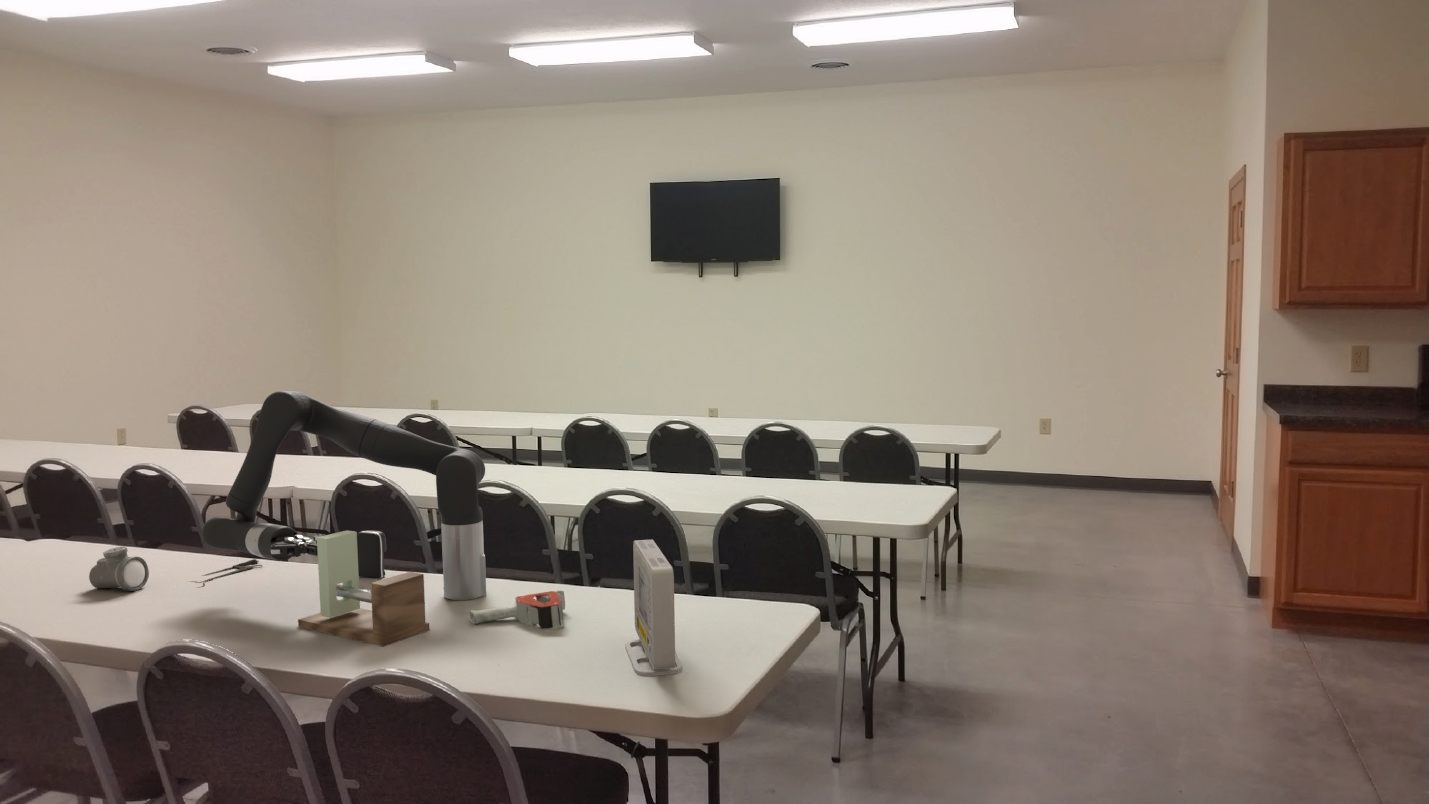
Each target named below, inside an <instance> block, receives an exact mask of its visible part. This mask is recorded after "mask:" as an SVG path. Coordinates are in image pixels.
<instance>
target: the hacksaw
mask: <svg viewBox="0 0 1429 804" xmlns="http://www.w3.org/2000/svg"><path fill="white" fill-rule="evenodd" d="M259 562H260V561H259V560H258V559H254V558H253V559H250V560H248V561H244V562H241V563H238V564H235V565H232V566H231V567H227V568H223V569H221V570H216V571H212V572H210V573H206V574H202V575H201V577H205V576H210V575H214V574H219V573H222V572H226V573H224V574H221V575H218V576H214V577H211V578H208V579H205V580H203V581H194V580H193V581H191V580H190V581H188V582H190V583H197V584H201V583H202V585H201V586H198V587H197V588H199V589H200V588H204V587H205V586H206V583H208V582H212V581H214V580H216V579H218V578H219V579H220V578H223V577H227V576H231V575H235V574H238V573H241V572H245V571H248V570H253V569H255V568H256V567H257V569H259V568H262V567H263V565H262V564H259ZM233 569H234V570H233ZM235 569H237V570H235ZM230 570H233V571H230ZM227 571H230V572H227Z"/></svg>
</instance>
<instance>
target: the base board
mask: <svg viewBox="0 0 1429 804" xmlns="http://www.w3.org/2000/svg"><path fill="white" fill-rule="evenodd" d="M370 591H371V598H372V603H371V609H366V608H363V607H362V608H361V607H360V609H357V610H354V611H350V612H347V613H344V614H341V615H338V616H334V617H331V618H329V617H324V616H321V612H318V613H314V614H312V615H309V616H308V615H307V616H305V617H302V618H301V617H300V618H298V619H297V622H298V625H297V626H298V627H300V628H303V629H308V630H311V629H312V630H311V631H315V632H321V633H326V634H329V635H333V636H337V637H342V638H345V639H349V640H353V641H358V642H362V643H365V644H369V645H370V644H371V645H374V646H378V647H384V648H385V647H386V646H389V645H392V644H394V643H397V642H400V641H403V640H405V639H409V638H411V637H415V636H417V635H420V634H422V633H426V632H428V631H430V622H426V605H425V604H426V602H425V599H426V598H425V577H424V573H421V572H420V573H419V572H413V571H407V572H405V573H400V574H396V575H394V576H389V577H386V578H384V579H380V580H377V581H373V582H371V583H370Z"/></svg>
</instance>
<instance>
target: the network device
mask: <svg viewBox="0 0 1429 804" xmlns="http://www.w3.org/2000/svg"><path fill="white" fill-rule="evenodd" d="M632 544H633V545H632V546H633V548H632V550H633V551H632V552H633V553H632V554H633V558H632V559H633V596H634V598H633V600H634V607H633V609H634V627H635V632H636V634H637V636H638V639H633V640H629V641H627V642H626V643H625V645H624V646H625V647H624V648H625V651H626V653H627V657H628V659H629V661H630V663H631V666H632V669H633V671H634V673H635V674H637V675H640V676H645V677H653V676H663V675H662V674H665V675H672V674H678V673H679V672H681V671H682V670H683V664H682V662H681V660H680V658H679V657H678V654H677V653H676V631H675V630H676V629H675V628H676V625H675V617H676V615H675V576H674V575H675V574H674V569H673V566H672V565H671V564H670V562H669V561H668V559H667V557H666V556H665V555H664V554H663V552H662V550H661V549H660V548H659V546H658V545H657V543H656V542H655V541H654V539H641V540H640V539H639V540H638V539H637V540H633V542H632ZM637 645H640V646H642V647H643V649H644V652H634V650H633V648H632V646H637ZM648 661H649V663H650V665H651V667H652V669H649V670H648V669H645V670H644V669H641V668H640V665H639V663H640V662H648Z"/></svg>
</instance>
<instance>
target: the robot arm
mask: <svg viewBox="0 0 1429 804" xmlns="http://www.w3.org/2000/svg"><path fill="white" fill-rule="evenodd" d="M291 431H299V432H302V433H308V434H311V435H314V436H318V437H322V438H325V439H327V440H330V441H332V443H335V444H336V445H338V446H339V447H340V448H342V449H344V450H345V451H347V452H349V453H350V454H351V455H354V456H357V457H359V458H362V459H364V460H367V461H368V460H369V461H372V462H373V463H376V464H380V465H383V466H384V465H385V466H388V467H390V466H391V467H395V468H404V469H412V470H417V471H418V470H419V471H421V472H426V473H428V474H430V475H431V474H432V475H433V476H435V486H436V498H437V500H436V501H437V502H436V503H437V508H438V513H439V514H440V521H441V522H440V523H441V525H440V526H441V547H442V548H441V549H442V569H443V570H442V573H443V574H442V576H443V579H442V581H443V597H444V598H445V599H448V600H453V601H465V600H466V601H467V600H472V599H474V600H475V599H478V598H481V597H486V596H487V577H486V574H487V571H486V555H485V551H484V550H485V549H484V546H485V545H484V524H483V523H484V522H483V519H484V518H483V509H482V507H481V506H480V505H479V504H480V503H479V499H478V498H479V497H478V495H479V494H478V485H479V484H480V483H481V482H482V481H483V479H484V477H485V475H486V466H485V462H484V461H483V459H482V458H481V457H480V456H479V455H478V454H477V453H476V452H474V451H472V450H470V449H466V448H461V447H456V446H452V445H448V444H444V443H440V442H437V441H433V440H430V439H428V438H425V437H422V436H420V435H418V434H415V433H413V432H411V431H408V430H406V429H403V428H400V427H398V426H395V425H392V424H391V423H386V422H384V421H381V420H378V419H375V418H372V417H369V416H365V415H362V414H360V413H356V412H355V413H354V412H351V411H347V410H342V409H339V408H336V407H333V406H331V405H329V404H328V403H327V404H326V403H325V402H322V401H321V400H319V399H316V398H314V397H312V396H310V395H308V394H306V393H303V392H301V391H297V390H278V391H274V392H272V393H270V395H268V396H266V398H265V400H264V401H263V404H262V405H261V409H260V412H259V416H258V419H257V421H256V425H255V430H254V432H253V436H252V440H251V442H250V444H249V448H248V450H247V453H246V455H245V458H244V460H243V462H242V465H241V467H240V469H239V471H238V473H237V476H236V478H235V479H234V481H233V482H232V486H231V488H230V490H229V492H228V493H227V496H226V499H225V506H226V507H228V508H229V509H230V510H231V511H233V512H235V513H236V517H235V518H232V517H231V518H229V517H225V516H224V517H223V516H214V517H212V518H209V519H208V520H207V521H206V522H205V523H204V524H203V526H202V528H201V534H200V535H201V538H202V541H203V542H204V543H205V544H206V545H207V546H208V547H210V548H215V549H223V550H230V551H238V552H242V553H245V554H248V555H253V556H257V557H259V558H263V559H269V560H272V561H273V560H274V561H278V562H279V561H280V562H285V561H287V560H289V559H291V558H295V557H296V558H298V557H301V556H309V555H311V556H316V557H318V550H317V537H321V536H322V534H316V535H314V536H313V537H312V538H311V537H308V536H304V535H302V534H298V532H297V531H296V530H295V529H294V528H293V527H290V526H286V525H279V524H274V523H260V522H256V519H257V513H258V510H259V509H258V508H259V506H260V504H261V502H262V500H263V499H264V498H263V497H264V496H265V493H266V492H267V490H268V487H269V485H270V482H271V479H272V474H273V469H274V463H275V460H276V457H277V454H278V451H279V448H280V446H281V444H282V443H283V442H284V440H285V438H286V436H288V434H289V432H291Z"/></svg>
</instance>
